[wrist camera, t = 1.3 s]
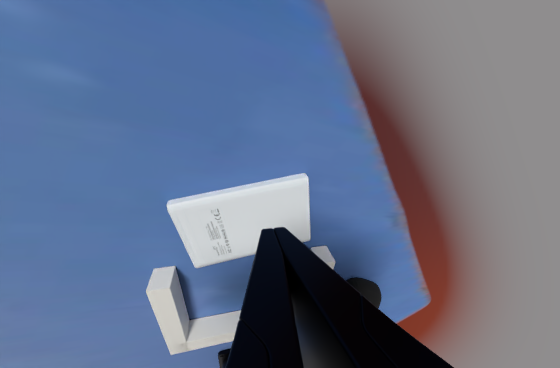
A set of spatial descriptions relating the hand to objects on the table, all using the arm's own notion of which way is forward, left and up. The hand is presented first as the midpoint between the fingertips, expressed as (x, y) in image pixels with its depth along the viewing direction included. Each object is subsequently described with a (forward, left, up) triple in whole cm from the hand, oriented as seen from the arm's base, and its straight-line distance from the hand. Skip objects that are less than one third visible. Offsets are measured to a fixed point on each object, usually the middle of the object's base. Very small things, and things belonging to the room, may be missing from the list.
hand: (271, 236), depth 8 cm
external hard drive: (-8, 0, -12) cm, 14 cm away
